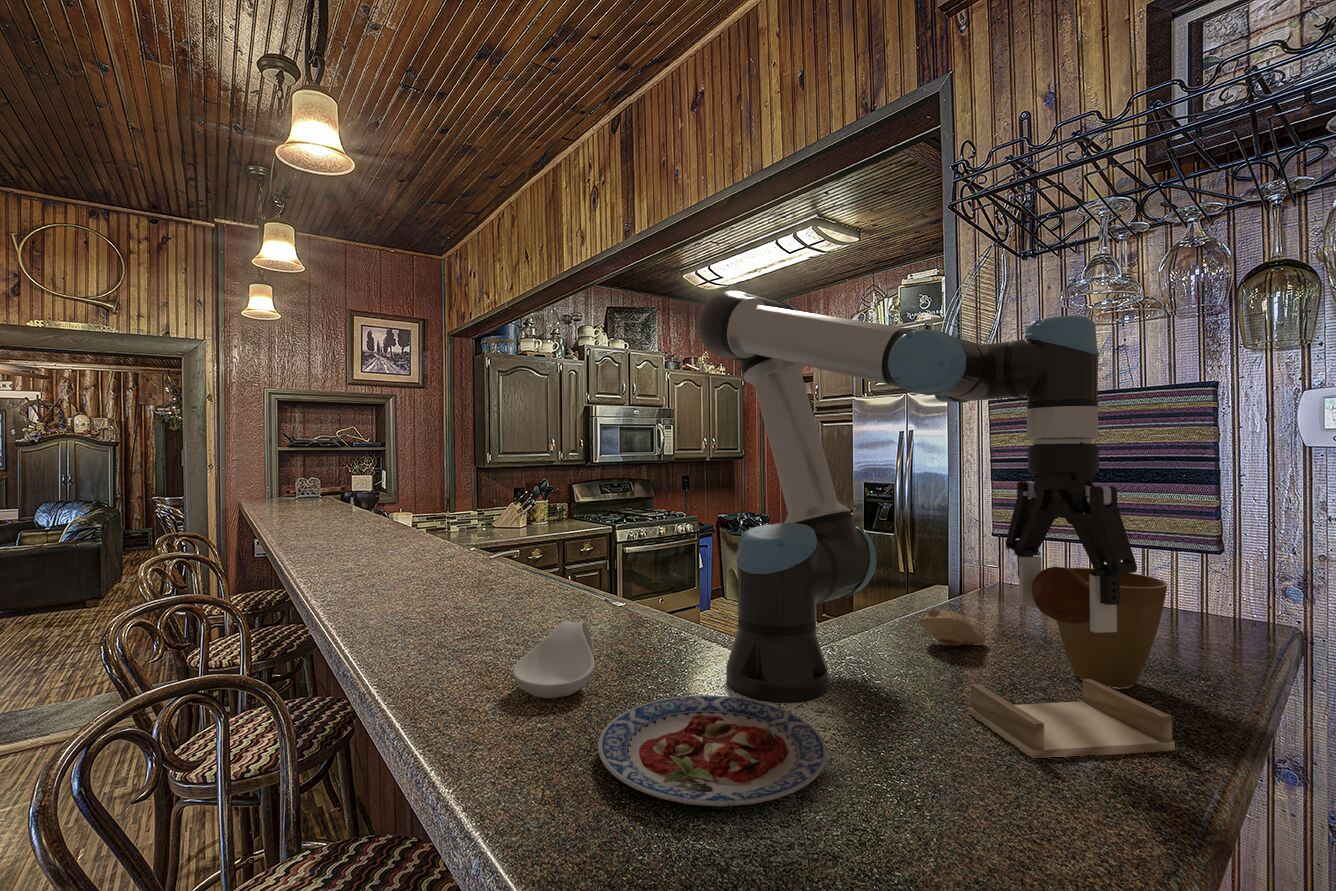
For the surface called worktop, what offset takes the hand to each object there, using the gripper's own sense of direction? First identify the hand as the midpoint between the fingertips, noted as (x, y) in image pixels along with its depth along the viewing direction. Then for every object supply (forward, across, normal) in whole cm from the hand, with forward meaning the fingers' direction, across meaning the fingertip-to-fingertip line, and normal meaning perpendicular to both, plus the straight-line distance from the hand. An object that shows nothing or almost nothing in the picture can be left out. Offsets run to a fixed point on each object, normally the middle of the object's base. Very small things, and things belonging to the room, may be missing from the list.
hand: (1064, 617), depth 77 cm
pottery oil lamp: (+14, +33, -6) cm, 37 cm away
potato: (0, 0, 0) cm, 0 cm away
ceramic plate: (+15, -1, +45) cm, 47 cm away
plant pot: (+14, +15, -19) cm, 28 cm away
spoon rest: (+14, +26, +63) cm, 70 cm away
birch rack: (+14, 0, 0) cm, 14 cm away
